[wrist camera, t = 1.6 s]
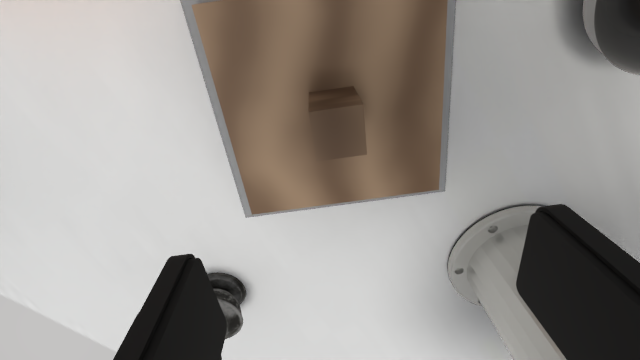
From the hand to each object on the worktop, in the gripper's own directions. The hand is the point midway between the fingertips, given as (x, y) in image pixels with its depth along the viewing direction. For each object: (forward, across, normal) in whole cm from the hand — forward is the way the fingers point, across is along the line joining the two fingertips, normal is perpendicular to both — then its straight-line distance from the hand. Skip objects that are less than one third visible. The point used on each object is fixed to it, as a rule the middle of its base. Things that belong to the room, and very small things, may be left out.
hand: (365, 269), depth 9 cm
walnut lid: (+17, 0, 0) cm, 17 cm away
